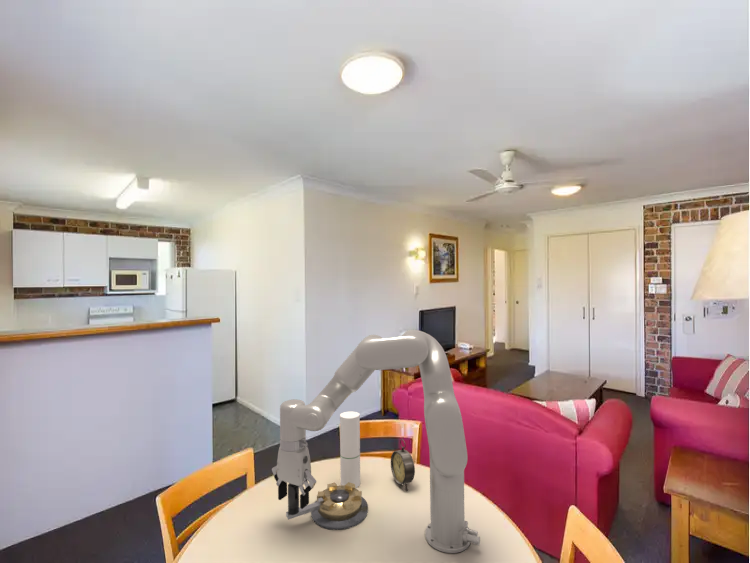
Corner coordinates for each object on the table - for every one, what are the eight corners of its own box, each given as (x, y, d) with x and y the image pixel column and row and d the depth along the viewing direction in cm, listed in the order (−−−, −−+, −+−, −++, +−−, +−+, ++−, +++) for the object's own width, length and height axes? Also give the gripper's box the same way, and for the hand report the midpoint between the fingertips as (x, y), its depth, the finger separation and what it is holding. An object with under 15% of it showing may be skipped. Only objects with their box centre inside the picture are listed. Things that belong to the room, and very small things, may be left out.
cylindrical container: (361, 479, 135) (360, 411, 135) (358, 489, 128) (358, 418, 128) (342, 478, 136) (341, 411, 136) (338, 488, 128) (338, 418, 129)
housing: (378, 504, 119) (378, 500, 119) (346, 537, 103) (346, 533, 103) (333, 489, 128) (333, 486, 128) (299, 518, 112) (299, 514, 112)
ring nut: (349, 489, 125) (349, 457, 125) (369, 510, 113) (369, 475, 113) (280, 511, 113) (280, 475, 114) (294, 538, 101) (293, 498, 101)
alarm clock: (389, 479, 135) (389, 435, 135) (402, 475, 137) (402, 432, 137) (404, 494, 125) (403, 446, 125) (418, 490, 127) (417, 443, 127)
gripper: (323, 444, 108) (324, 503, 107) (280, 432, 116) (281, 487, 116) (307, 454, 101) (307, 517, 101) (262, 441, 110) (263, 500, 110)
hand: (293, 501), depth 108 cm, fingers open, 8 cm apart
